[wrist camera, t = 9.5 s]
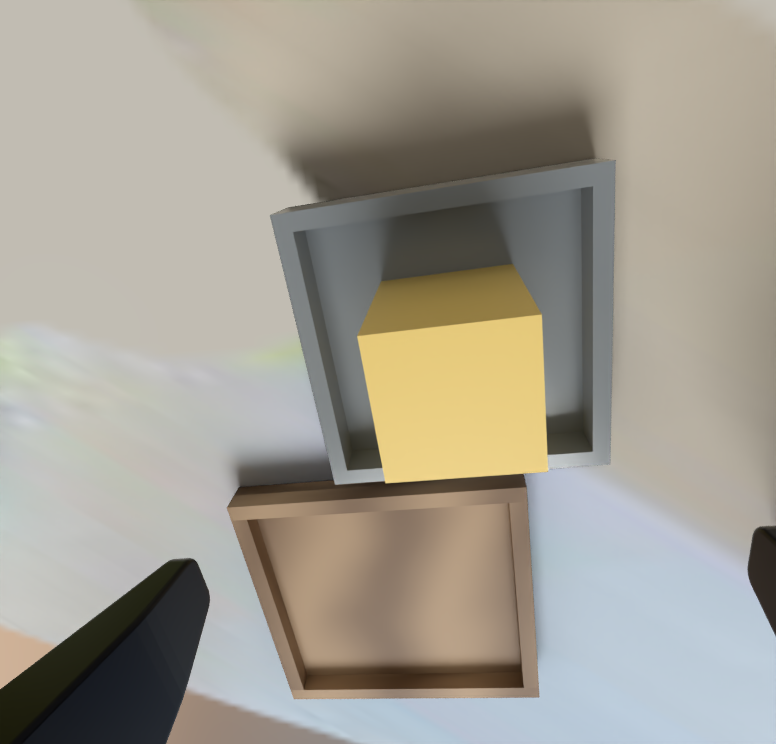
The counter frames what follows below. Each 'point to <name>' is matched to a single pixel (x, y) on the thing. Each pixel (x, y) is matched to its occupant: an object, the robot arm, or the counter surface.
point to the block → (456, 375)
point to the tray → (395, 586)
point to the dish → (450, 254)
